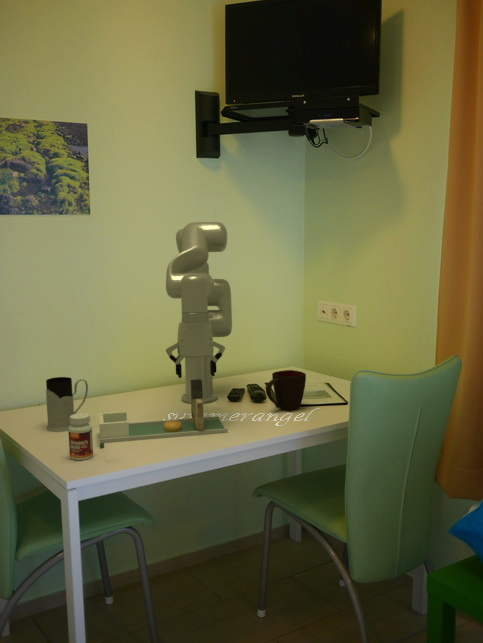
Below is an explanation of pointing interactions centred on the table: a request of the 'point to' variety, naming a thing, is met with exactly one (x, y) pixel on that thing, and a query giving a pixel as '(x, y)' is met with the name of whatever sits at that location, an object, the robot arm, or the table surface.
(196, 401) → the striker
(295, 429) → the table surface
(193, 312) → the robot arm
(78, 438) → the pill bottle
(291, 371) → the cup
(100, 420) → the pitch
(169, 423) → the yellow domed round part
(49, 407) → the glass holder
